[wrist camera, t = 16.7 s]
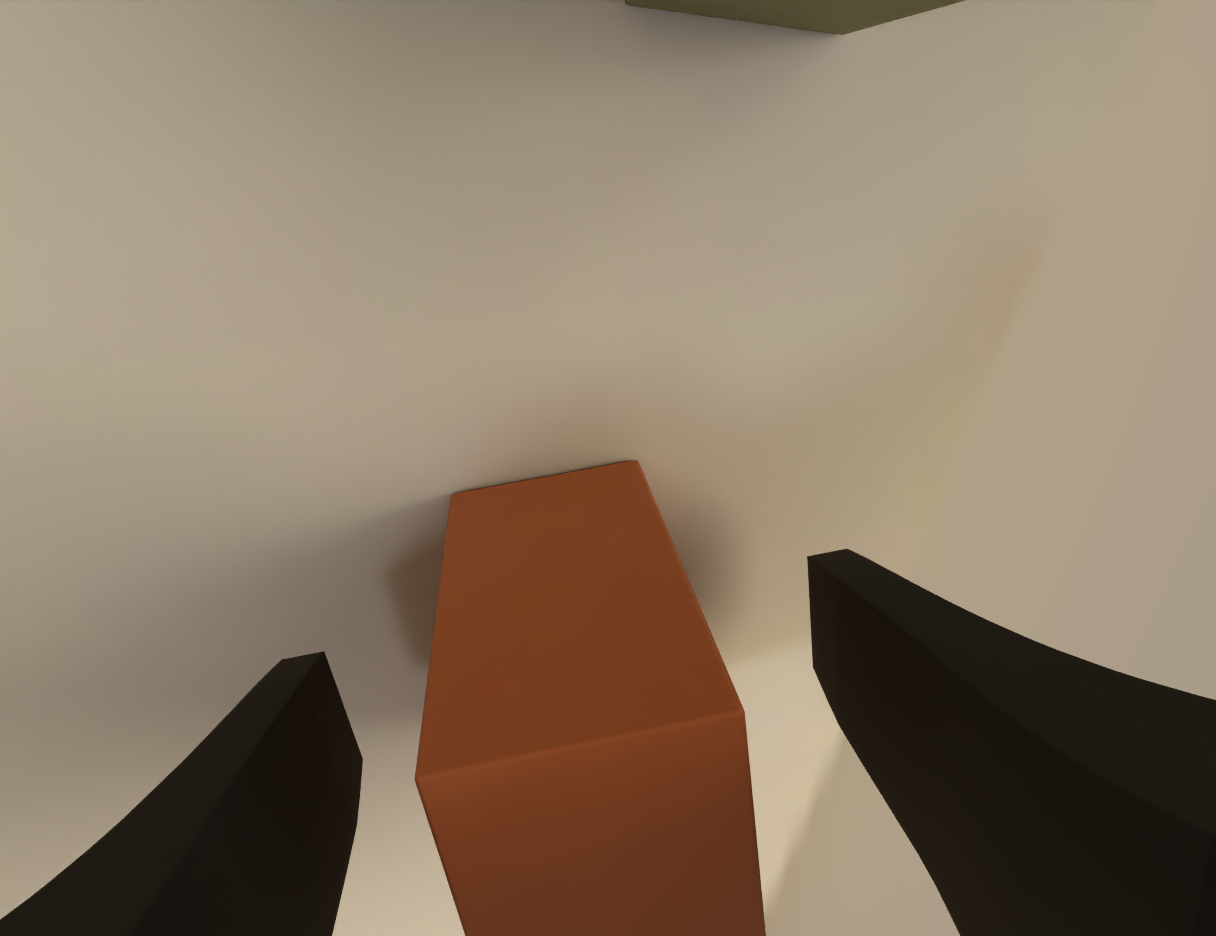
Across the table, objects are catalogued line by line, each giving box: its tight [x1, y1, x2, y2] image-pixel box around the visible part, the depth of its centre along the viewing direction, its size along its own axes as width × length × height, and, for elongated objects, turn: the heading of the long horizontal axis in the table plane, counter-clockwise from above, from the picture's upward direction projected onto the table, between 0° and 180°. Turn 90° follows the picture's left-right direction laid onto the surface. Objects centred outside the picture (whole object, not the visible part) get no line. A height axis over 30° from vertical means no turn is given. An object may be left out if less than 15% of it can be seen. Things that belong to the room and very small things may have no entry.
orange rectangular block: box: [415, 460, 766, 936], centre depth 11 cm, size 3×4×6 cm, turn 8°
